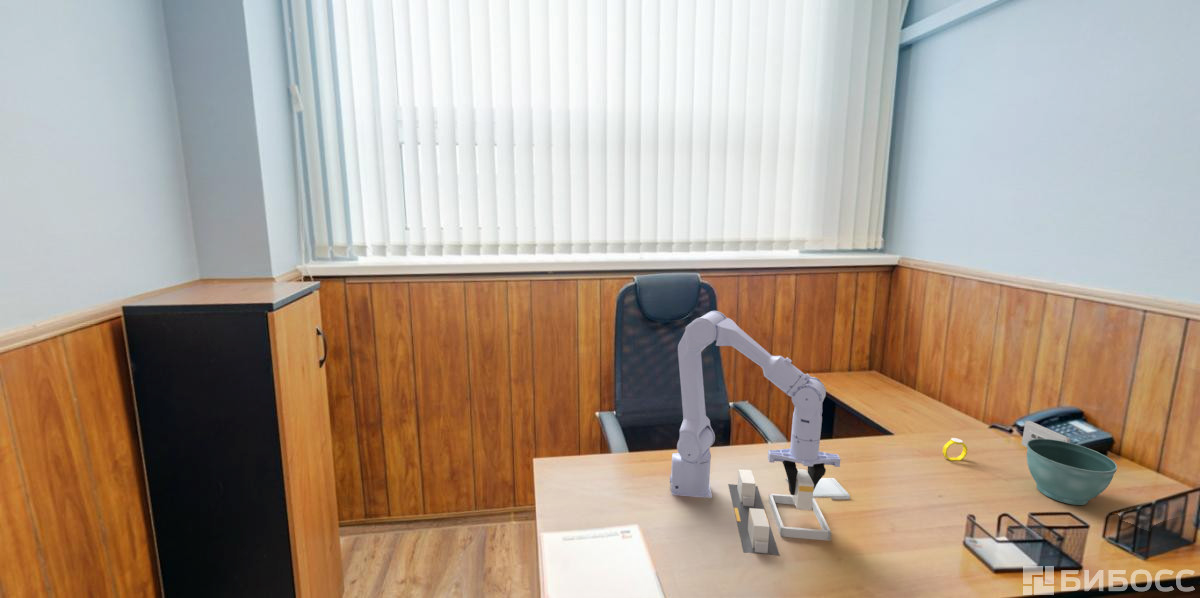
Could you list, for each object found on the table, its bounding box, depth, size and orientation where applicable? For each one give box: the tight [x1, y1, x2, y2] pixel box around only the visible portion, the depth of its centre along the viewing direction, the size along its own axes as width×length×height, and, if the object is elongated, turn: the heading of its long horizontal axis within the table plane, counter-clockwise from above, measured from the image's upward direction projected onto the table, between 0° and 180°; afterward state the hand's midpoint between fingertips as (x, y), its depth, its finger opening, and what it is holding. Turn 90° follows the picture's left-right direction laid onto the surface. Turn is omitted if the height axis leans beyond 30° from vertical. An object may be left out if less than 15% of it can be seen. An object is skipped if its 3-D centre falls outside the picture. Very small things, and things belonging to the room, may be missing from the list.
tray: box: [768, 493, 832, 542], centre depth 114 cm, size 10×13×2 cm
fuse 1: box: [737, 469, 757, 502], centre depth 123 cm, size 3×6×5 cm, turn 173°
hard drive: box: [785, 477, 851, 500], centre depth 127 cm, size 2×8×12 cm
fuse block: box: [727, 483, 781, 556], centre depth 115 cm, size 7×25×3 cm, turn 173°
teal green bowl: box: [1026, 438, 1118, 506], centre depth 125 cm, size 16×16×11 cm
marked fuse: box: [790, 468, 814, 511], centre depth 112 cm, size 3×6×6 cm, turn 173°
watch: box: [942, 437, 968, 462], centre depth 142 cm, size 6×3×6 cm, turn 91°
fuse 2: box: [748, 508, 771, 548], centre depth 107 cm, size 3×6×5 cm, turn 173°
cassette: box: [1021, 420, 1071, 449], centre depth 146 cm, size 12×2×8 cm, turn 9°
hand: (800, 493), depth 113 cm, fingers closed on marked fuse, 3 cm apart
